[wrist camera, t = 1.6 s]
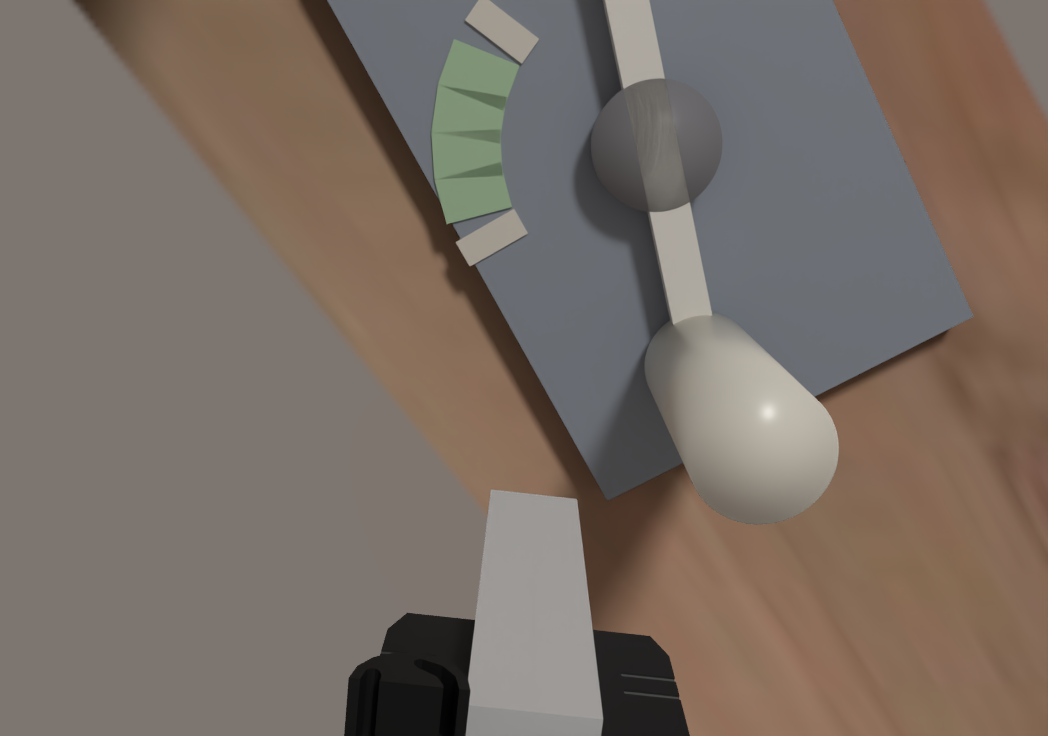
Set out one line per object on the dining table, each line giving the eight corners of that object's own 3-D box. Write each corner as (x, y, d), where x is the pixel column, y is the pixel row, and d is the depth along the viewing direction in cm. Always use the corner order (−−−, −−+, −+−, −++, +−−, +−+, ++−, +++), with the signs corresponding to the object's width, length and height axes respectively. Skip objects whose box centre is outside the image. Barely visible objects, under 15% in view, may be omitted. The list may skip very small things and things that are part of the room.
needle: (533, -104, 32) (534, -207, 22) (665, -139, 32) (725, -259, 22) (651, 429, 36) (695, 540, 26) (768, 402, 36) (857, 504, 26)
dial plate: (307, -31, 34) (299, -37, 33) (700, -268, 32) (707, -284, 31) (600, 492, 38) (602, 504, 37) (959, 310, 37) (974, 317, 35)
